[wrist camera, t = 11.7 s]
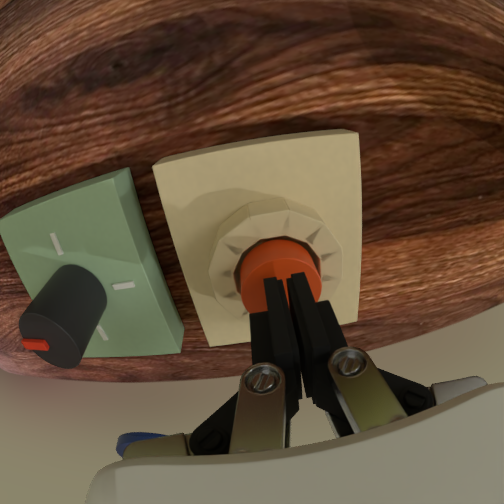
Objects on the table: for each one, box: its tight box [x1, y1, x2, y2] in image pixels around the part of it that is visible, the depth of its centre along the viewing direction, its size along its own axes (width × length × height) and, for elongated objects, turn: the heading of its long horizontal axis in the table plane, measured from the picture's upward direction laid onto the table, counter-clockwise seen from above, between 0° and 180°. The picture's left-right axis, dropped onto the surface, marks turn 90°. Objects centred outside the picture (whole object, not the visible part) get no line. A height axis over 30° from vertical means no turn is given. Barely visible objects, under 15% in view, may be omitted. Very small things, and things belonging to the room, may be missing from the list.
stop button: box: [240, 240, 322, 313], centre depth 13 cm, size 4×4×2 cm
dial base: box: [0, 167, 185, 357], centre depth 16 cm, size 12×10×3 cm
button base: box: [152, 129, 362, 347], centre depth 16 cm, size 12×10×4 cm
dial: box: [19, 264, 107, 369], centre depth 13 cm, size 4×4×5 cm
